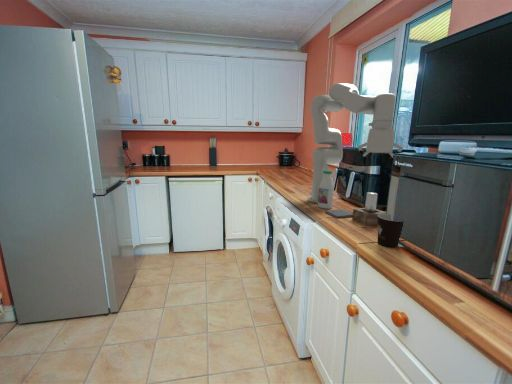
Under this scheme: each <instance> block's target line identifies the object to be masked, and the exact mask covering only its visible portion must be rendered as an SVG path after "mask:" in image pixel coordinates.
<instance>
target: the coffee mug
mask: <svg viewBox="0 0 512 384" xmlns="http://www.w3.org/2000/svg"><path fill="white" fill-rule="evenodd" d="M391 214H392V213H388V214H379V215H378V216H377V218H378V225H377V244H378V245H379V246H381V247H383V248H386V249H387V248H388V249H396V248H398V246H399V244H400V240H399V238H400V239H401V237H400V235H401V236H402V233H401V231H402V232H403V230H402V227H403V228H404V226H403V222H404V221H392V220H391ZM398 241H399V242H398Z"/></svg>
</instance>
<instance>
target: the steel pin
mask: <svg viewBox="0 0 512 384" xmlns="http://www.w3.org/2000/svg"><path fill="white" fill-rule="evenodd" d="M378 195H379V194H378V193H377V192H369V191H368V192H366V195H365V197H366V198H365V204H364V205H365V206H364V208H365V212H368V213H375V212H376V209H377V204H378V203H377V202H378Z"/></svg>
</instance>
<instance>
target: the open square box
mask: <svg viewBox="0 0 512 384" xmlns="http://www.w3.org/2000/svg"><path fill="white" fill-rule="evenodd" d="M352 213H353V217H352V218H351V219H352V220H353V221H356V222H358V223H361V224H362V225H365V226H367V227H370V226H372V227H373V226H378V218H377V216H378V215H379V214H386V213H387V212H386V211H383V210H381V209H378V208H376V212H375V213H368V212H365V207H359V208H353V210H352Z"/></svg>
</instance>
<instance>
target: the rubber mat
mask: <svg viewBox="0 0 512 384" xmlns="http://www.w3.org/2000/svg"><path fill="white" fill-rule="evenodd" d="M324 212H325V213H326V214H328V215H330V216H331V217H334V218H336V219H344V218H351V217H352V218H353V212H350V211H347V210H344V209H343V208H341V209H340V208H339V209H329V210H327V209H326V210H324Z"/></svg>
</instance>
